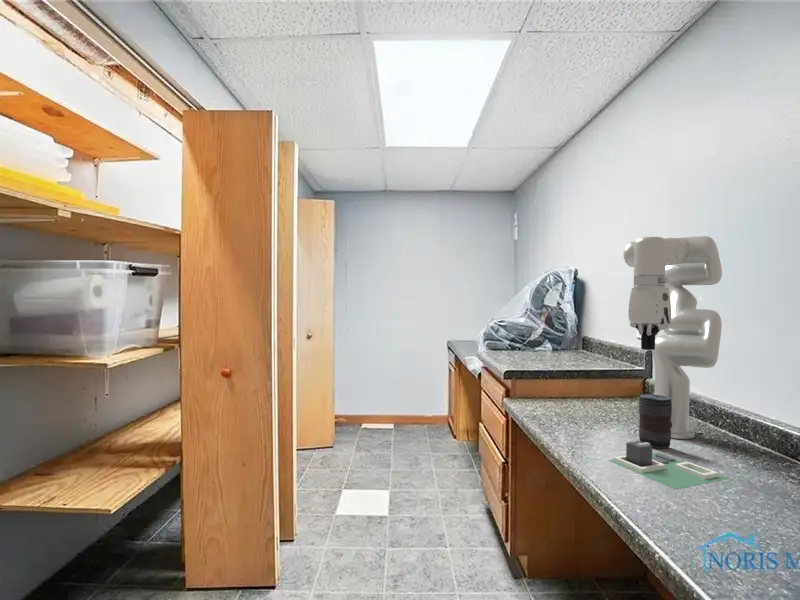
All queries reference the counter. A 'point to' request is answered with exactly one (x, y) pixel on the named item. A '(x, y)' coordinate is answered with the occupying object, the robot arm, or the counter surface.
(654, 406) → the camera lens
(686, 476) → the board
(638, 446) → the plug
